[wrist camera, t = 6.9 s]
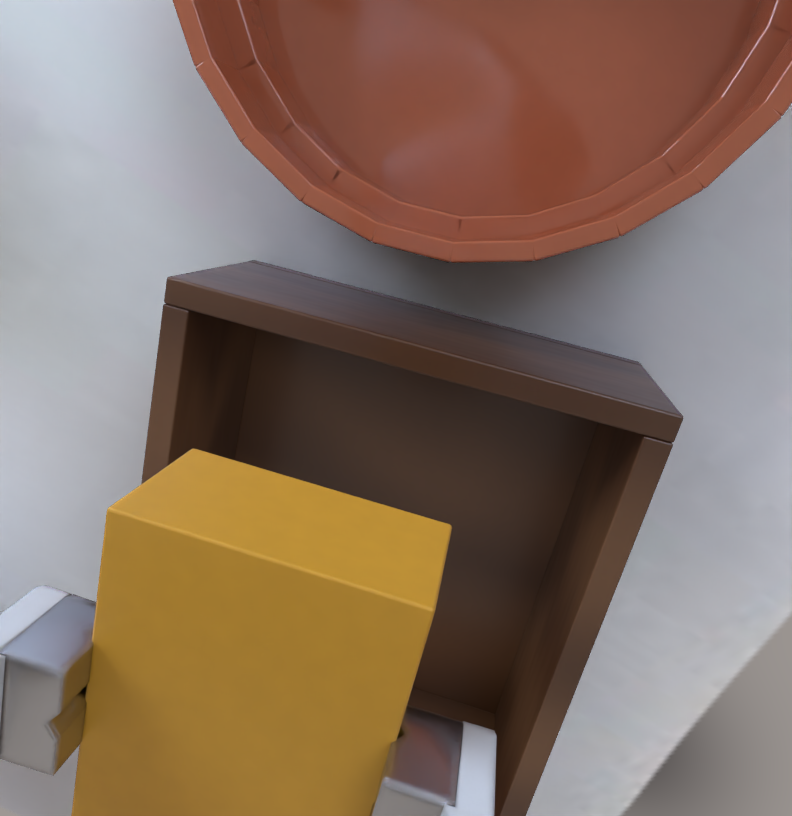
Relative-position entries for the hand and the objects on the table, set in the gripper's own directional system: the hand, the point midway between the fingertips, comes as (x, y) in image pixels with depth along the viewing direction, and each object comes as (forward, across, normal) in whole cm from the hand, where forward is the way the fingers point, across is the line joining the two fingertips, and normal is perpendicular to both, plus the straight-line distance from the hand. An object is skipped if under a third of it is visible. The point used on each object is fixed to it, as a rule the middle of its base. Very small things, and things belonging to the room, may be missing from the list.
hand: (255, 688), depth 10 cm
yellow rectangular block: (+1, 0, 0) cm, 1 cm away
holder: (+16, 0, +4) cm, 17 cm away
